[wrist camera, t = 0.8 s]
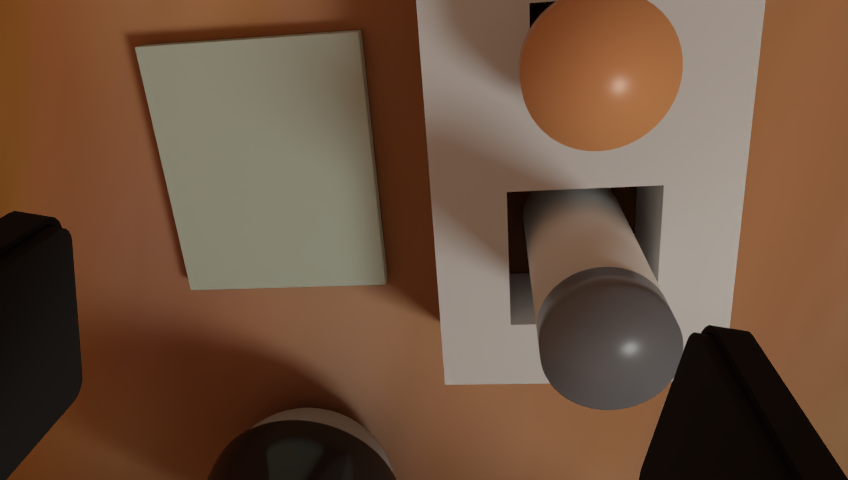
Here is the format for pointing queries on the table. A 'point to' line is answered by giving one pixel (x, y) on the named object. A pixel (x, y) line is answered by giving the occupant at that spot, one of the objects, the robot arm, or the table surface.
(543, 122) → the plunger
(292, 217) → the mat
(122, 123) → the table surface
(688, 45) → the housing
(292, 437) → the pump dispenser
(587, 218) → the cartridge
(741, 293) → the table surface
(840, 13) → the table surface
